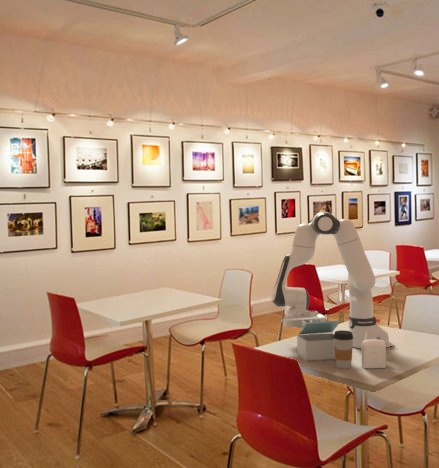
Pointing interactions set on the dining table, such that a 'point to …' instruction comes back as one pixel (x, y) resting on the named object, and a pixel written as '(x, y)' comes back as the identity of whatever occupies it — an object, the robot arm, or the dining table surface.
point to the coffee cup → (343, 348)
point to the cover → (319, 327)
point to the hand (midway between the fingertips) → (309, 325)
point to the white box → (316, 346)
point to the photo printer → (373, 353)
